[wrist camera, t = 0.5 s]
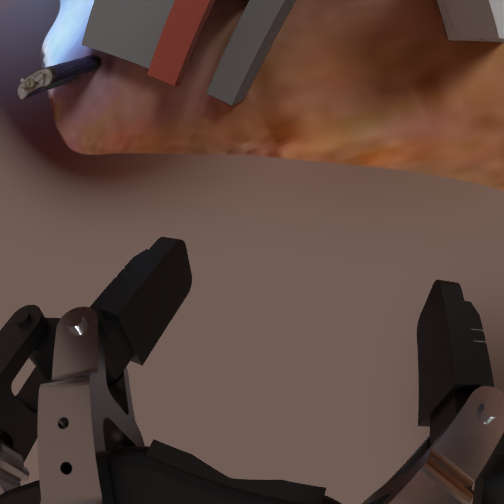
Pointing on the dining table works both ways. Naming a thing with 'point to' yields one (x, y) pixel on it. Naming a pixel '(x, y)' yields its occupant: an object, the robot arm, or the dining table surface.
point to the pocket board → (151, 26)
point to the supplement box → (473, 19)
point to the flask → (57, 75)
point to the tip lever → (179, 39)
